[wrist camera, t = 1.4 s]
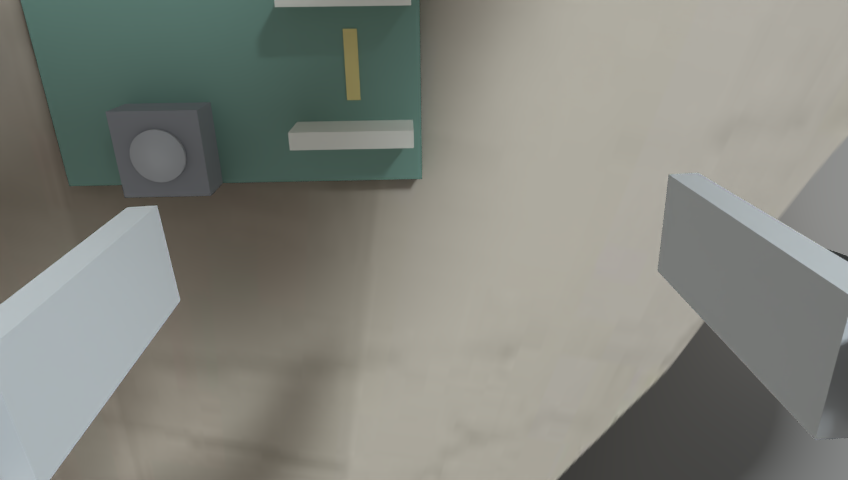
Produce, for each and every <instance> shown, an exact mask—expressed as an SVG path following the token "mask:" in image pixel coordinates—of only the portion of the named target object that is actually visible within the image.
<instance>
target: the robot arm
mask: <svg viewBox="0 0 848 480" xmlns="http://www.w3.org/2000/svg"><path fill="white" fill-rule="evenodd" d="M658 272H659V273H660V274H661V275H662V276H663V277H664V278H665V279H666V280H667V281H668V283H669V284H670V285H671V286H672V287H673V288H674V289H675V290H676V291H677V292H678V293H679V294H680V295H681V296H682V298H683V299H684V300H685V301H686V302H687V303H688V304H689V305H690V306H691V307H692V308H693V309H694V310H695V312H696V313H697V314H698V315H699V316H700V317H701V318H702V319H703V320H704V321H705V322H706V323H707V324H708V325H709V327H711V329H712V330H713V331H714V332H715V333H716V334H717V335H718V336H719V337H720V338H721V339H722V340H723V342H724V343H726V345H727V346H728V347H729V348H730V349H731V350H732V351H733V352H734V353H735V354H736V355H737V357H738V358H739V359H740V360H741V361H742V362H743V363H744V364H745V365H746V366H747V367H748V368H749V369H750V371H751V372H752V373H753V374H754V375H755V376H756V377H757V378H758V379H759V380H760V381H761V382H762V383H763V384H764V385H765V387H766V388H767V389H768V390H769V391H770V392H771V393H772V394H773V395H774V396H775V397H776V398H777V399H778V400H779V402H780V403H781V404H782V405H783V406H784V407H785V408H786V409H787V410H788V411H789V412H790V413H791V414H792V416H793V417H794V418H795V419H796V420H797V421H798V422H799V423H800V424H801V425H802V426H803V427H804V428H805V430H807V432H808V433H809V434H810V435H811V436H812V437H813V438H814V439H815V440H822V439H836V438H837V439H838V438H848V257H847V256H845V255H843V254H840V253H837V252H834V251H831V250H828V249H826V248H824V247H822V246H821V245H819V244H817V243H816V242H814V241H812V240H810V239H809V238H807V237H805V236H804V235H802V234H800V233H799V232H797V231H795V230H793V229H792V228H790V227H788V226H787V225H785V224H783V223H782V222H780V221H779V220H777V219H775V218H774V217H772V216H770V215H768V214H767V213H765V212H763V211H762V210H760V209H758V208H757V207H755V206H753V205H752V204H750V203H748V202H747V201H745V200H743V199H742V198H740V197H738V196H737V195H735V194H733V193H731V192H730V191H728V190H726V189H725V188H723V187H721V186H720V185H718V184H716V183H715V182H713V181H711V180H710V179H708V178H706V177H705V176H703V175H701V174H700V173H685V174H669V176H668V185H667V194H666V202H665V211H664V220H663V228H662V237H661V246H660V254H659V263H658ZM179 302H180V297H179V293H178V288H177V284H176V280H175V276H174V272H173V268H172V264H171V260H170V256H169V251H168V247H167V243H166V239H165V235H164V231H163V227H162V223H161V219H160V214H159V210H158V206H157V205H156V206H139V207H127V208H125V209H124V210H123V211H122V212H120V213H119V214H118V215H116V216H115V217H114V218H112V219H111V220H110V221H108V222H107V223H106V224H105V225H103V226H102V227H101V228H99V229H98V230H97V231H95V232H94V233H93V234H92V235H90V236H89V237H88V238H86V239H85V240H84V241H82V242H81V243H80V244H78V245H77V246H76V247H75V248H73V249H72V250H71V251H69V252H68V253H67V254H65V255H64V256H63V257H61V258H60V259H59V260H58V261H56V262H55V263H54V264H52V265H51V266H50V267H48V268H47V269H46V270H45V271H43V272H42V273H41V274H39V275H38V276H37V277H35V278H34V279H33V280H31V281H30V282H29V283H28V284H26V285H25V286H24V287H22V288H21V289H20V290H18V291H17V292H16V293H15V294H13V295H12V296H11V297H9V298H8V299H7V300H5V301H4V302H3V303H1V304H0V480H50V479H51V478H52V476H53V475H54V473H55V472H56V471H57V469H58V468H59V467H60V465H61V464H62V462H63V461H64V460H65V458H66V457H67V456H68V454H69V453H70V452H71V450H72V449H73V447H74V446H75V445H76V443H77V442H78V441H79V439H80V438H81V436H82V435H83V434H84V432H85V431H86V430H87V428H88V427H89V425H90V424H91V423H92V421H93V420H94V419H95V417H96V416H97V414H98V413H99V412H100V410H101V409H102V408H103V406H104V405H105V403H106V402H107V401H108V399H109V398H110V397H111V395H112V394H113V392H114V391H115V390H116V388H117V387H118V386H119V384H120V383H121V382H122V380H123V379H124V377H125V376H126V375H127V373H128V372H129V371H130V369H131V368H132V366H133V365H134V364H135V362H136V361H137V360H138V358H139V357H140V355H141V354H142V353H143V351H144V350H145V349H146V347H147V346H148V344H149V343H150V342H151V340H152V339H153V338H154V336H155V335H156V333H157V332H158V331H159V329H160V328H161V327H162V325H163V324H164V323H165V321H166V320H167V318H168V317H169V316H170V314H171V313H172V312H173V310H174V309H175V307H176V306H177V305H178V303H179Z"/></svg>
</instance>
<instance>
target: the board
mask: <svg viewBox="0 0 848 480" xmlns="http://www.w3.org/2000/svg"><path fill="white" fill-rule="evenodd" d="M21 4H22V7H23V11H24V15H25V19H26V23H27V26H28V30H29V34H30V38H31V42H32V45H33V49H34V53H35V57H36V61H37V64H38V68H39V72H40V76H41V80H42V83H43V87H44V91H45V95H46V99H47V102H48V106H49V110H50V114H51V118H52V121H53V125H54V129H55V133H56V137H57V140H58V144H59V148H60V152H61V156H62V159H63V163H64V167H65V171H66V175H67V178H68V182H69V186H99V185H122V188H123V192H124V196H125V198H130V197H177V196H211V195H212V194H213V193H214V192H215V191H216V190H217V189H218V188H219V187H220V186H221V184H222V183H245V182H293V181H342V180H390V179H422V145H421V73H420V0H21Z"/></svg>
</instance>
